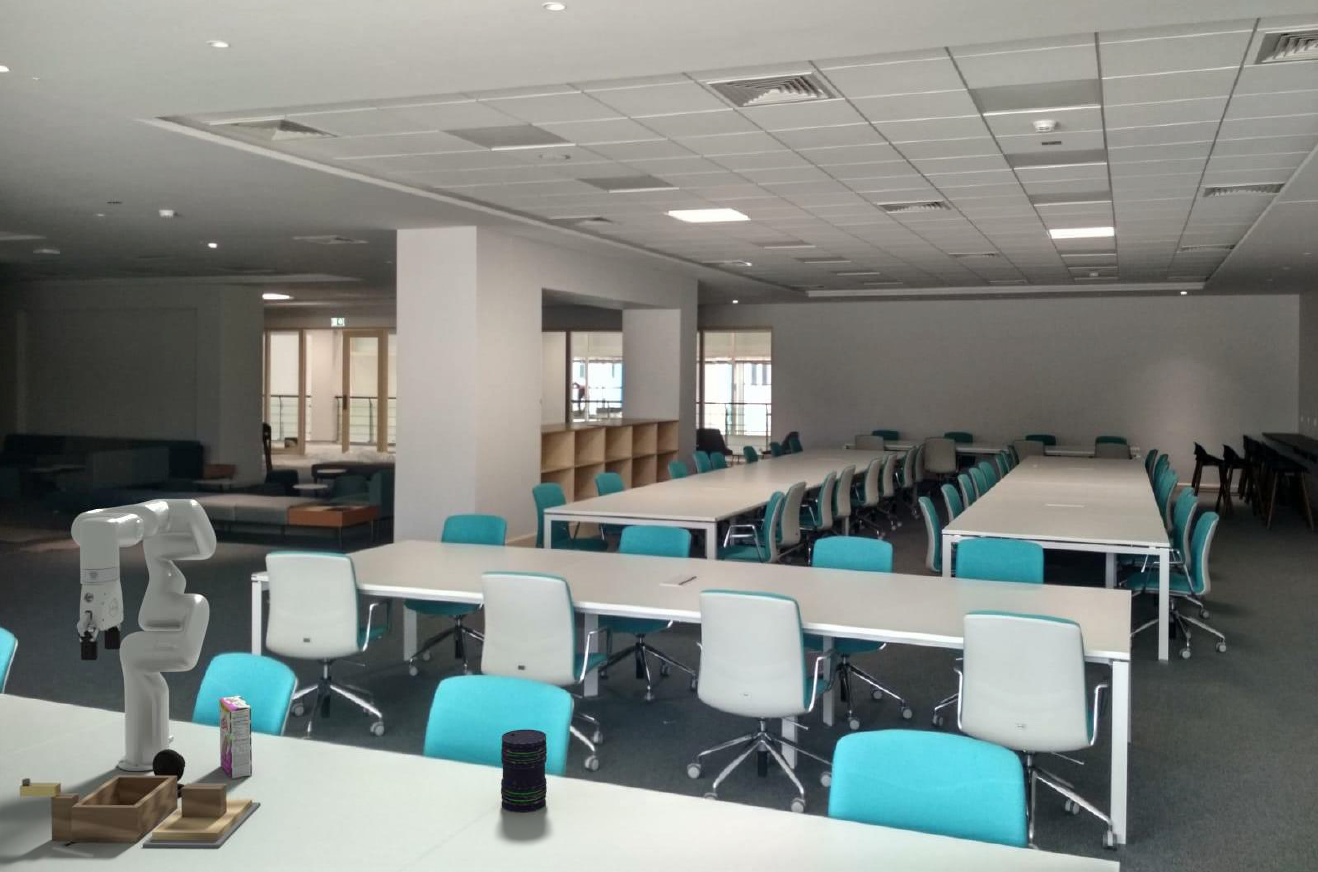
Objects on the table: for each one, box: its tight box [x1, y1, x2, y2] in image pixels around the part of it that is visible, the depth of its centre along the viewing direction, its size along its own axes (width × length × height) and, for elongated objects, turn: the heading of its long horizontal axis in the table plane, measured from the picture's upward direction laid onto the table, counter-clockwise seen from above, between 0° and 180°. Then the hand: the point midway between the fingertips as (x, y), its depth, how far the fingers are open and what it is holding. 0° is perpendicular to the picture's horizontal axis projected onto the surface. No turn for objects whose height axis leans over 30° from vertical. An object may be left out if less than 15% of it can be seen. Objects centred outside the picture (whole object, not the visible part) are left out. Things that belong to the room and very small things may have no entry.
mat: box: [142, 801, 262, 849], centre depth 225 cm, size 22×15×1 cm
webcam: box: [152, 748, 186, 798], centre depth 242 cm, size 8×8×10 cm
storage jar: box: [500, 728, 548, 814], centre depth 238 cm, size 10×10×15 cm
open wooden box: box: [50, 774, 179, 844], centre depth 225 cm, size 18×17×8 cm
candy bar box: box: [218, 695, 253, 780], centre depth 257 cm, size 11×5×16 cm, turn 34°
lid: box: [151, 782, 253, 840], centre depth 225 cm, size 18×13×8 cm
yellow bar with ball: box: [19, 777, 62, 798], centre depth 218 cm, size 2×7×3 cm, turn 90°
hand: (101, 654), depth 236 cm, fingers open, 9 cm apart
